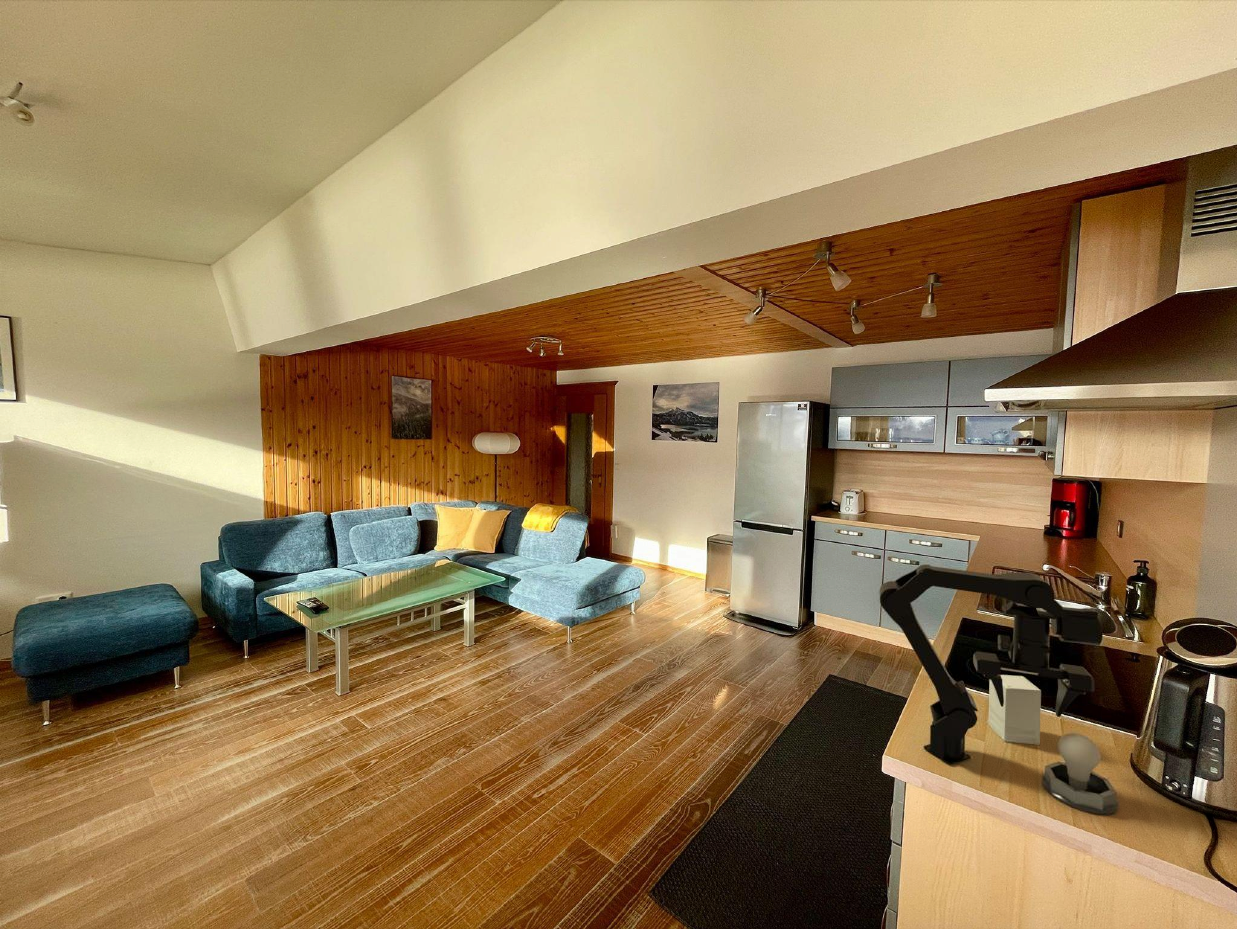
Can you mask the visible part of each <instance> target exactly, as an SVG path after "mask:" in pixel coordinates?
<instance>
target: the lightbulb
mask: <svg viewBox="0 0 1237 929" xmlns="http://www.w3.org/2000/svg"><path fill="white" fill-rule="evenodd" d="M1057 745H1058V746H1057V747H1058V748H1057V749H1058V750H1059V753H1060V755H1061V758H1063V761H1064V763H1066V765H1067V772H1068V775H1069V784H1070V786H1071V787H1073V788H1075V789H1078V790H1082V791H1085V790H1086V789H1087V781H1089V776H1090V773H1091V771H1093V770H1095V768H1096V767H1097V766H1098V765H1099V764H1100V761H1101V757H1102V756H1101V752H1100V749H1099V747H1098V746H1097V745H1096V742H1094V741H1093V740H1092V739H1090V738H1089V737H1087V736H1085V735H1083V734H1080V733H1076V732H1070V733H1066V734H1064V735H1062V736H1061V737H1060V738H1059V739H1058V743H1057Z"/></svg>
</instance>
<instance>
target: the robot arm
mask: <svg viewBox="0 0 1237 929" xmlns="http://www.w3.org/2000/svg"><path fill="white" fill-rule="evenodd" d="M931 587H936V588H944V589H950V590H956V591H957V590H958V591H963V592H970V593H975V594H976V593H977V594H978V593H979V594H982V595H983V594H985V595H991V596H996V597H999V598H1003V599H1005V600H1008V601H1009V602H1008V603H1006V604H1003V605H1001V606H1002V607H1001V608H1002V610H1003V611H1004V613H1005V614H1006V615H1013V635H1012V640H1011V637H1010V636H1009V635H1004V634H998V635H997V649H998V650H999V651H1006V652H1008V656H1009V658H1010V660H1012V661H1006V660H999V658H998V656H997V654H996V653H992V652H991V653H990V652H985V651H984V652H982V651H976V652H974V653H973V656H972V657H973V658H972V659H973V660H972V662H973V665H974V666H973V667H975V670H976V672H977V673H978V674H980V675H983V676H984V678H985V679H987V680H989V681H990V680H991V681H992V683H993V685H994V688H995V691H996V694H997V697H998V700H999V703H1000V705H1001V707H1003V705H1004V695H1003V683H1002V678H1001V676H1000V675H1002V674H1001V671H1004V672H1011V673H1016V674H1017V673H1018V674H1022V675H1023V674H1024V675H1029V676H1037V677H1043V678H1049V679H1054V680H1055V679H1056V680H1057V686H1058V687H1057V694H1056V701H1055V716H1056V717H1058V718H1060V717H1061V716H1062V714H1063V713H1064V712H1065V710H1066V709H1067V707H1069V705H1070V704H1071V703H1072V702H1073V701H1074V700H1075V699H1076V698H1077V697H1078V696H1079V695H1086V692H1091V693H1092V692H1095V685H1096V684H1095V679H1094V678H1093V676H1092V675H1091V674H1090V672H1088V671H1087V670H1086V669H1085V667H1083V666H1079V665H1074V664H1066V663H1060V665H1059V668H1053V667H1050V666H1049V665H1050V663H1049V660H1050V654H1051V648H1050V636H1051V634H1050V630H1051V633H1052V634H1053V635H1054V636H1057V637H1058V638H1059V640H1060V642H1067V643H1075V644H1083V645H1092V646H1100V645H1101V644H1102V642H1103V637H1104V636H1103V635H1104V634H1103V631H1102V627H1101V623H1100V621H1099V620H1100V619H1099V617H1098V616H1099V613H1098V612H1097V610H1095V609H1094V608H1087V607H1086V608H1084V607H1083V608H1077V607H1069V606H1068V607H1066V606H1062V605H1061V603H1059V602H1058V601H1057V600H1056V599H1055V590H1054V589H1053V587H1052V586H1051V585H1050V584H1049V583H1048V582H1047V581H1045V579H1043V578H1042V577H1041V576H1039V575H1037V574H1036V573H1034V572H1033V573H1032V572H1007V573H1006V572H1005V573H1001V574H999V573H997V574H996V573H995V574H994V573H985V572H976V571H969V570H963V569H957V568H956V569H955V568H947V567H939V566H933V565H930V564H921V565H919V566H918V567H917V568H915V569H913V570H912V571H910V572H908V573H906V574H903V575H901V576H900V577H898V578H897V579H896V580H894V581H893V580H890V581H886V582H884V583H882V585H881V586H880V588H879V591H878V593H879V603H880V606H881V607H882V609H883V610H884V612H886V614H887V615H888V616H889V617H890V618H891V619H892V621H893V622H894V624H896V625H897V626H898V628H900V629H901V631H902V632H903V634H904V636H905V637H906V639H907V641H908V643H909V645H910V646H911V648H912V649H913V651H914V653H915V655H916V657H917V659H918V660H919V661H920V664H921V665H922V666H923V669H924V670H925V672H926V674H927V675H928V677H929V679H930V681H931V683H932V684H933V686H934V689H935V692H936V695H937V697H938V700H937V701H936V702H934V703H931V704H930V705H929V709H930V713H931V717H932V722H931V724H930V730H929V731H930V733H929V734H930V735H929V744H926V745H925V744H924V745H923V749H924V750H925V751H927V752H928V753H930V754H932V755H933V756H935V758H938V759H940V760H941V761H942V762H944V763H946V764H947V765H949V766H952V765H955V764H960V763H962V762H965V761H968V760H971V759H972V756H971V755H970V754H968V753H967V752H965V750H966V749H965V748H966V744H965V743H966V734H967V732H968V731H969V729H972V728H973V727H975V725H976V724H977V722H978V716H977V713H976V712H979V710H978V707H977V705H976V702H975V699H974V697H973V695H972V693H970V692H969V691H968V690H967V688H966V686H965V683H964V680H959V681H958V682H957V681H956V680H954V679H953V677H952V676H951V675H950V674H949V672H948V670H947V669H946V667H945V665H944V663H943V662H942V660H941V658H940V656H939V654H938V653H937V651H936V649H935V647H934V645H933V644H932V642H931V640H930V639H929V637H928V635H927V634H926V632H925V630H924V629H923V627H922V625H921V624H920V622H919V620H918V619H917V615H916V613H915V610H914V608H913V604H912V603H913V602H915V601H916V600H918V598H920V597H921V595H923V594H924V593H926V591H927V590H928V589H931ZM1038 609H1042V610H1038Z"/></svg>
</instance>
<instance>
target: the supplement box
mask: <svg viewBox="0 0 1237 929" xmlns="http://www.w3.org/2000/svg"><path fill="white" fill-rule="evenodd" d="M1000 676H1001V678H1002V683H1003V695H1004V705H1003V707H1001V705H1000V703H999V700H998V697H997V694H996V691H995V688H994V685H993V683H992V681H991V680H990V679H989V681H988V682H989V689H988V691H989V692H988V694H989V696H988V726H989V727H991V729H992V730H993V731H994V732H995V733H996V734H997V735H998V736H999V737H1000V738H1001V740H1002V741H1003V742H1007V743H1017V744H1027V745H1036V746H1037V745H1040V744H1041V743H1040V742H1041V741H1040V740H1041V738H1040V737H1041V712H1042V711H1041V708H1042V706H1041V704H1042V703H1041V701H1042V690H1041V689H1039V687H1037V686H1036V685H1034V684H1033V683H1032V682H1031V681H1030V680H1029V679H1027V678H1026V677H1025V676H1022V675H1010V674H1009V675H1008V674H1000Z"/></svg>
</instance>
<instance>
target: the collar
mask: <svg viewBox="0 0 1237 929" xmlns="http://www.w3.org/2000/svg"><path fill="white" fill-rule="evenodd" d="M1041 784H1042V787H1043V789H1044V790H1045V791H1046V793H1048V794H1049V795H1050V796H1051V797H1052V798H1054V799H1055V800H1057V801H1058V802H1060V803H1062V804H1064V805H1065V806H1068V807H1070V808H1073V809H1075V810H1077V811H1080V812H1083V813H1085V814H1086V813H1087V814H1090V815H1096V816H1112V815H1115V814H1116V813H1117V812H1119V802H1118V800H1117V793H1118V792H1117V791H1116V789H1115V788H1114V786H1113V784H1111V782H1110V781H1109V779H1108V778H1106V777H1104V776H1102V775H1101V774H1098V773H1096V772H1094V771H1093V770H1092V771H1091V773H1090V776H1089V781H1087V789H1086V790H1085V791H1082V790H1078V789H1075V788H1073V787H1071V786H1070V784H1069V775H1068V772H1067V765H1066V763H1065V762H1062V761H1056V762H1053V763H1050V764H1047V765H1044V775H1043V776H1042V778H1041Z"/></svg>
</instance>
